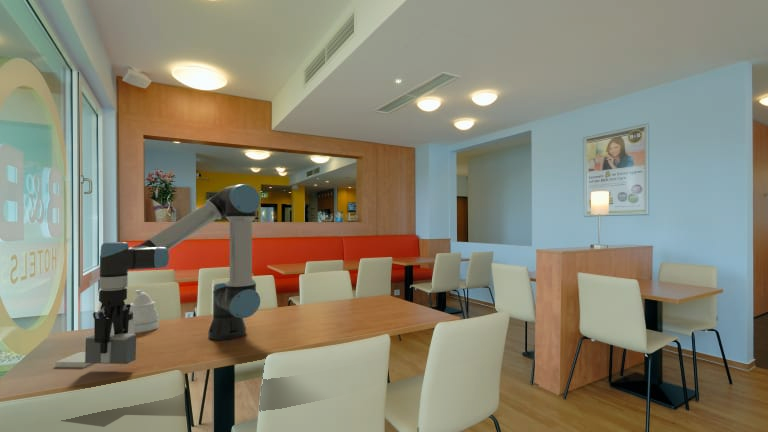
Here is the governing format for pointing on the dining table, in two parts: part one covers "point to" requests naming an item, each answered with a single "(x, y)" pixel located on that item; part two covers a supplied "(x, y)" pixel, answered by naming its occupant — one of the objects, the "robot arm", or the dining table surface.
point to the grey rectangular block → (113, 349)
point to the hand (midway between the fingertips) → (111, 359)
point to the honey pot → (144, 313)
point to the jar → (130, 326)
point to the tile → (73, 361)
